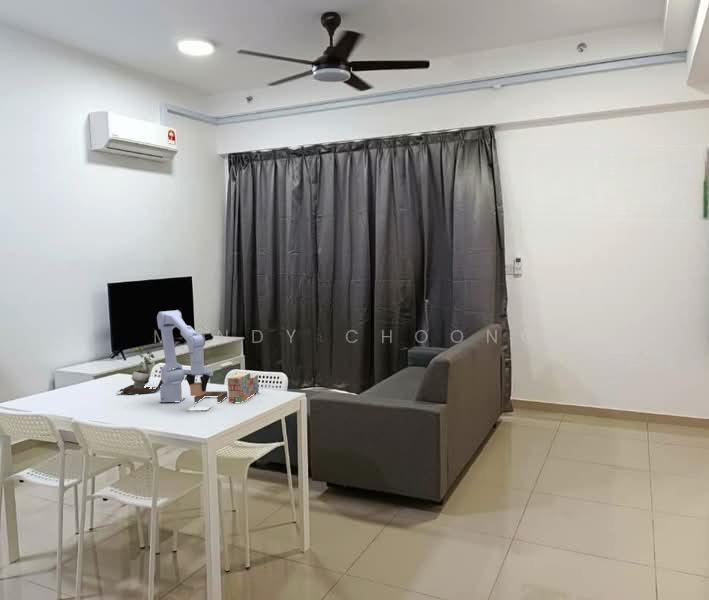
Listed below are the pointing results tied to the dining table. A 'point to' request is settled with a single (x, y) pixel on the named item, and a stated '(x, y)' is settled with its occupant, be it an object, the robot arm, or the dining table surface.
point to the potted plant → (141, 377)
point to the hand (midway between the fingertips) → (198, 391)
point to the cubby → (220, 395)
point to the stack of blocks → (242, 386)
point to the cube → (196, 389)
